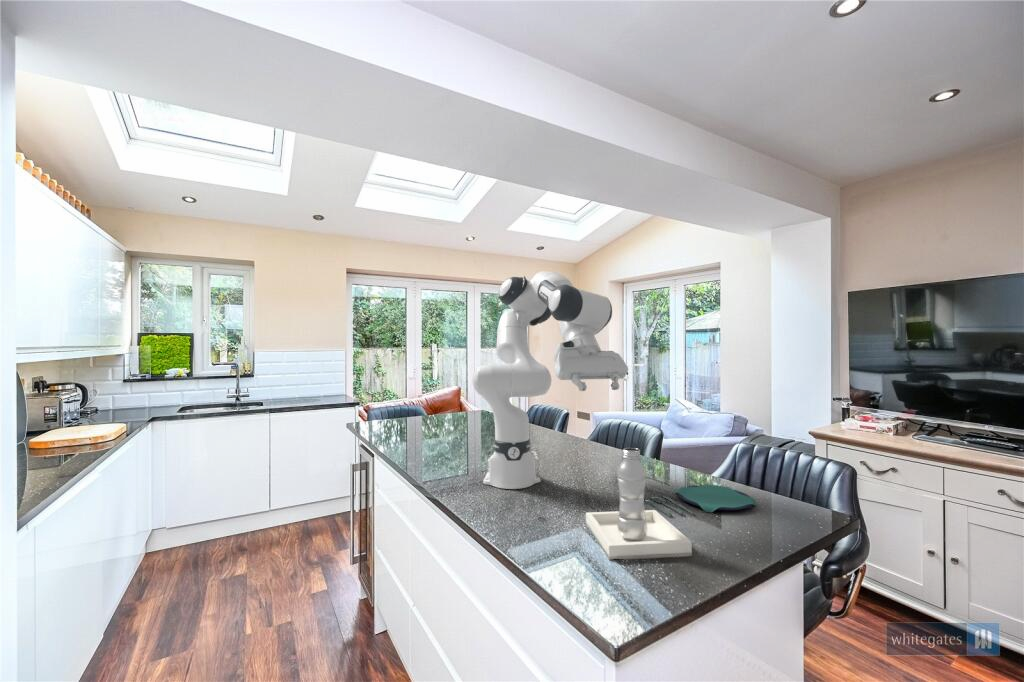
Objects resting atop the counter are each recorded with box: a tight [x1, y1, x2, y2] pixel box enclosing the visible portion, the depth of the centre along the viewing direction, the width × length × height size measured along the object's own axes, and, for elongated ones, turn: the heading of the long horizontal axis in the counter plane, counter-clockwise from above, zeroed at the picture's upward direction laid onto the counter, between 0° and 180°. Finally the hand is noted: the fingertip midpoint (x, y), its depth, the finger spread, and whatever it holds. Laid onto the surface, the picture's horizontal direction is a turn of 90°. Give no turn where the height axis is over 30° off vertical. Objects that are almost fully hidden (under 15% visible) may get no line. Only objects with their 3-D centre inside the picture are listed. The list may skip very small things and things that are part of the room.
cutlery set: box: [645, 484, 756, 518], centre depth 122 cm, size 20×30×2 cm, turn 102°
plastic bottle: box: [616, 447, 648, 540], centre depth 98 cm, size 6×7×20 cm
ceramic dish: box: [585, 509, 693, 561], centre depth 99 cm, size 18×18×3 cm
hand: (600, 389), depth 112 cm, fingers open, 8 cm apart
